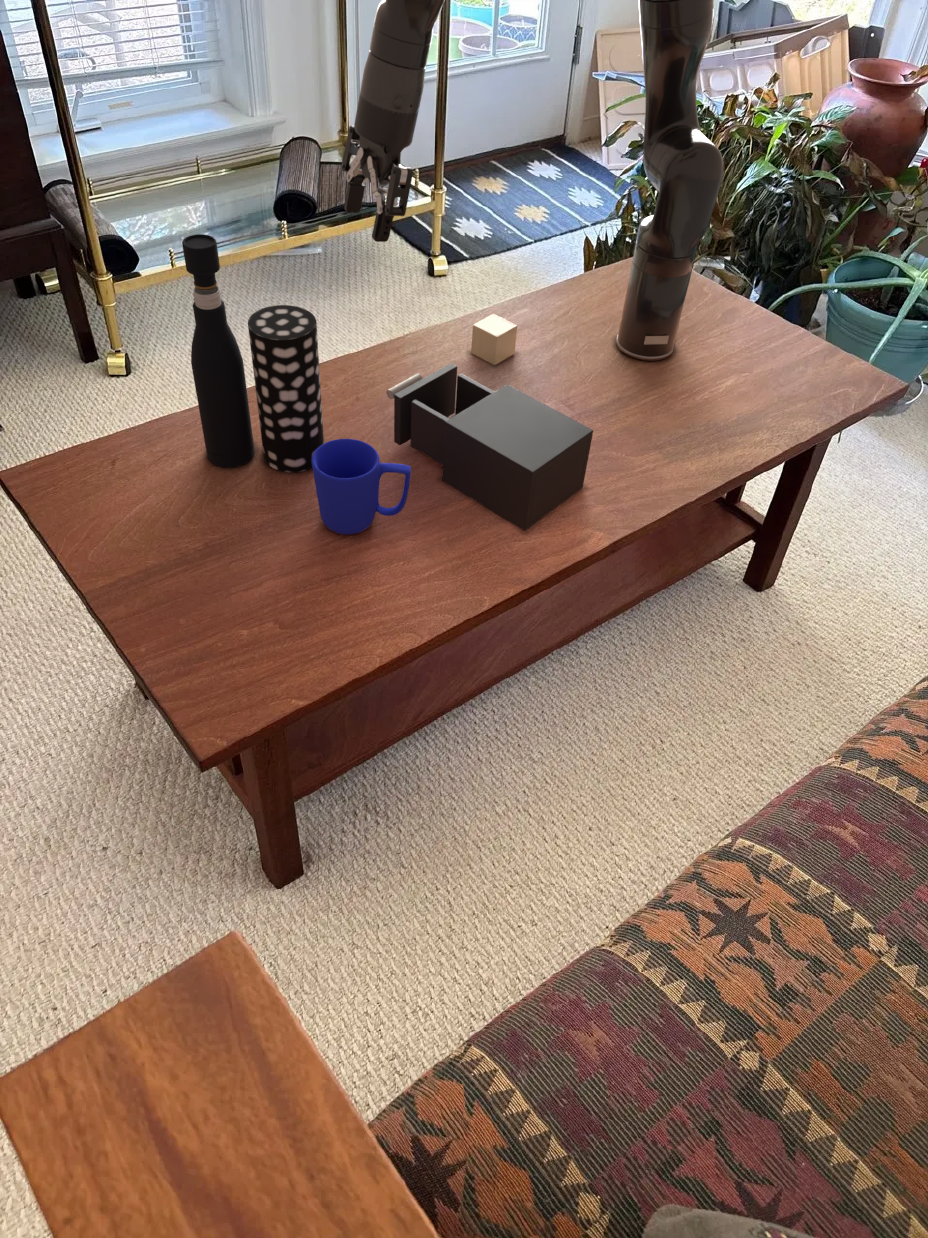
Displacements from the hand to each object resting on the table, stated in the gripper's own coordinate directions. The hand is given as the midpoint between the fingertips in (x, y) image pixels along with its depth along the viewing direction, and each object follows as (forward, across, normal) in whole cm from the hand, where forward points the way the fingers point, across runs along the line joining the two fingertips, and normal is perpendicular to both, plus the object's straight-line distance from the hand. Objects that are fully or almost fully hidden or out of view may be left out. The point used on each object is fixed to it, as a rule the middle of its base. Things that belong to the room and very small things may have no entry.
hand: (365, 225), depth 128 cm
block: (+18, -4, -25) cm, 31 cm away
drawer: (+20, -22, -6) cm, 31 cm away
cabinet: (+20, -34, -10) cm, 40 cm away
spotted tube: (+26, -15, +13) cm, 32 cm away
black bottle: (+28, -11, +20) cm, 36 cm away
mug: (+24, -32, +11) cm, 41 cm away
